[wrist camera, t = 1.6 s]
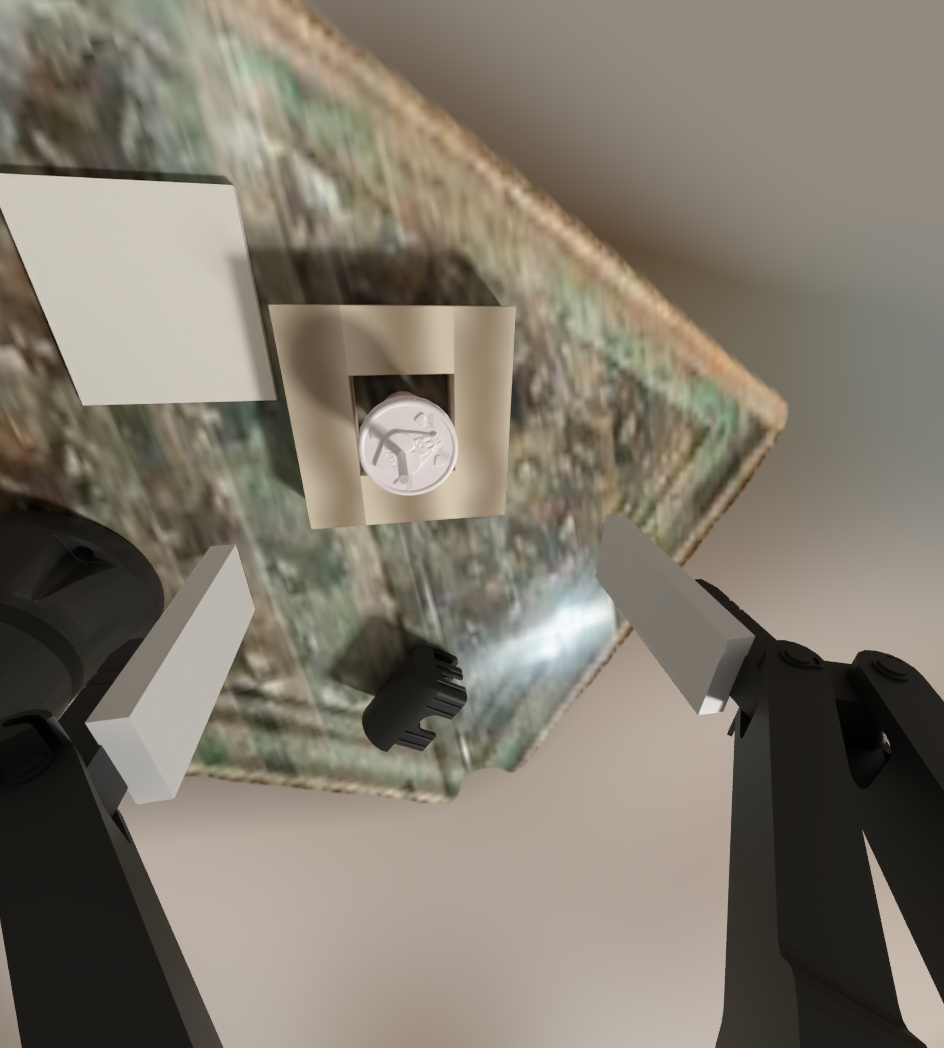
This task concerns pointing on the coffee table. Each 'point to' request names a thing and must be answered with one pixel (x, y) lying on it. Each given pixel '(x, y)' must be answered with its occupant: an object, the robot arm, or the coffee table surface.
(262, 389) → the tile
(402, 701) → the end cap
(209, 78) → the coffee table surface
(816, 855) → the robot arm
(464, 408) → the frame
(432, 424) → the smoothie
